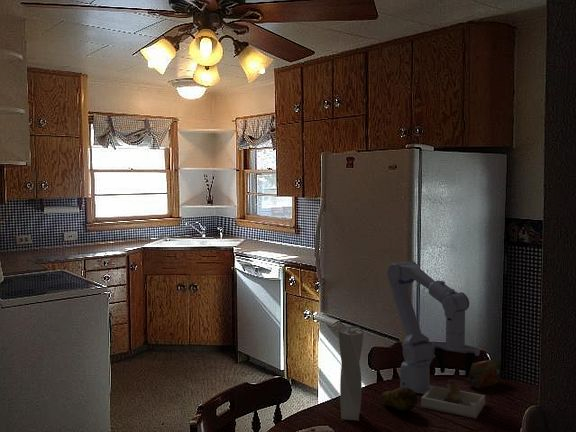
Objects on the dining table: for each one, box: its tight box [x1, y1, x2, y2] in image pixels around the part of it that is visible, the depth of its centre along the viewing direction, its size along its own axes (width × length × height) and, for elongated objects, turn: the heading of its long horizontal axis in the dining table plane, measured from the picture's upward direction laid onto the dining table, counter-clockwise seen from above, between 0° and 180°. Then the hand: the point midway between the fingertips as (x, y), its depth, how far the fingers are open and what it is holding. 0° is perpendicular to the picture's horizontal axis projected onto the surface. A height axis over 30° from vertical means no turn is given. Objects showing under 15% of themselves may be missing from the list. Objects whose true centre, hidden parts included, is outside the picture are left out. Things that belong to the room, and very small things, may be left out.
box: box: [420, 385, 486, 420], centre depth 168 cm, size 17×13×3 cm
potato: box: [381, 387, 419, 411], centre depth 164 cm, size 8×13×8 cm, turn 13°
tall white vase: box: [338, 325, 364, 422], centre depth 160 cm, size 8×8×28 cm
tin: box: [465, 359, 502, 389], centre depth 187 cm, size 15×3×8 cm, turn 118°
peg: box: [447, 379, 461, 404], centre depth 168 cm, size 4×4×7 cm
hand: (454, 374), depth 169 cm, fingers open, 7 cm apart
